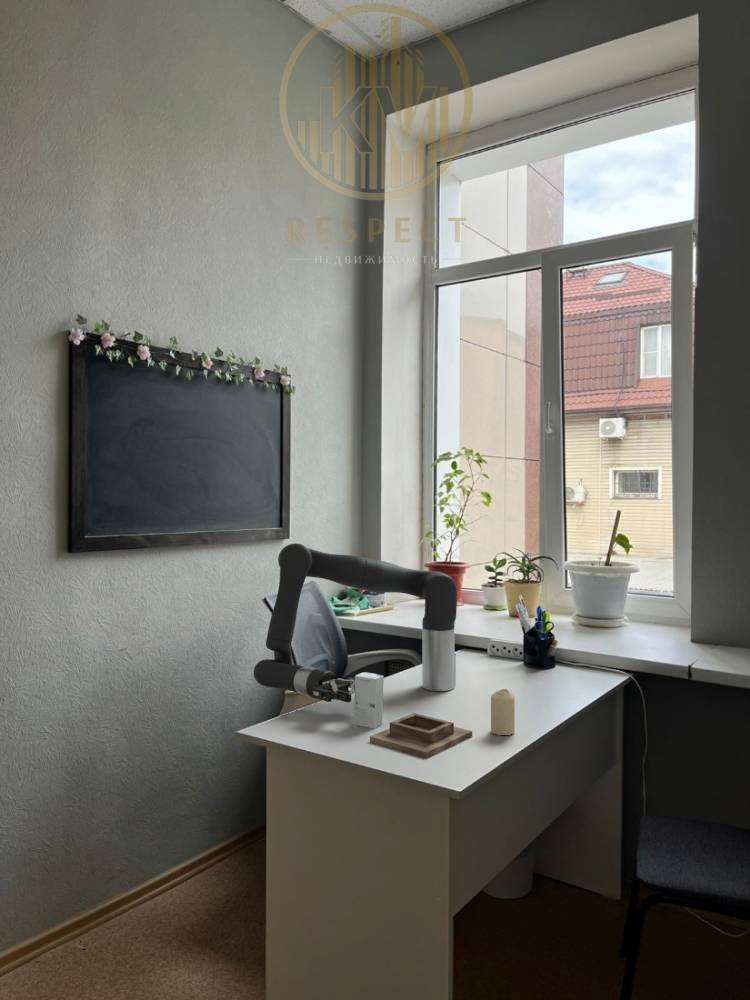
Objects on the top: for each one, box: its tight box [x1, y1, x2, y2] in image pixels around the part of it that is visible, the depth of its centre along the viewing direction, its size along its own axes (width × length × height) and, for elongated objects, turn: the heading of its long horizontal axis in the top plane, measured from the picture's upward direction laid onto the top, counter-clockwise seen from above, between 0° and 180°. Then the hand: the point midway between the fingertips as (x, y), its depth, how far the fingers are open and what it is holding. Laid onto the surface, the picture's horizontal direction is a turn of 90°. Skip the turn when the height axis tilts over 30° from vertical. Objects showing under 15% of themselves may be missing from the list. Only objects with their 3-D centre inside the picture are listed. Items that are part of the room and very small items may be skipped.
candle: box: [490, 688, 516, 736], centre depth 174 cm, size 6×6×10 cm
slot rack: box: [369, 712, 473, 759], centre depth 169 cm, size 18×16×4 cm
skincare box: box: [353, 671, 385, 729], centre depth 180 cm, size 6×4×12 cm
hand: (362, 694), depth 181 cm, fingers open, 8 cm apart
